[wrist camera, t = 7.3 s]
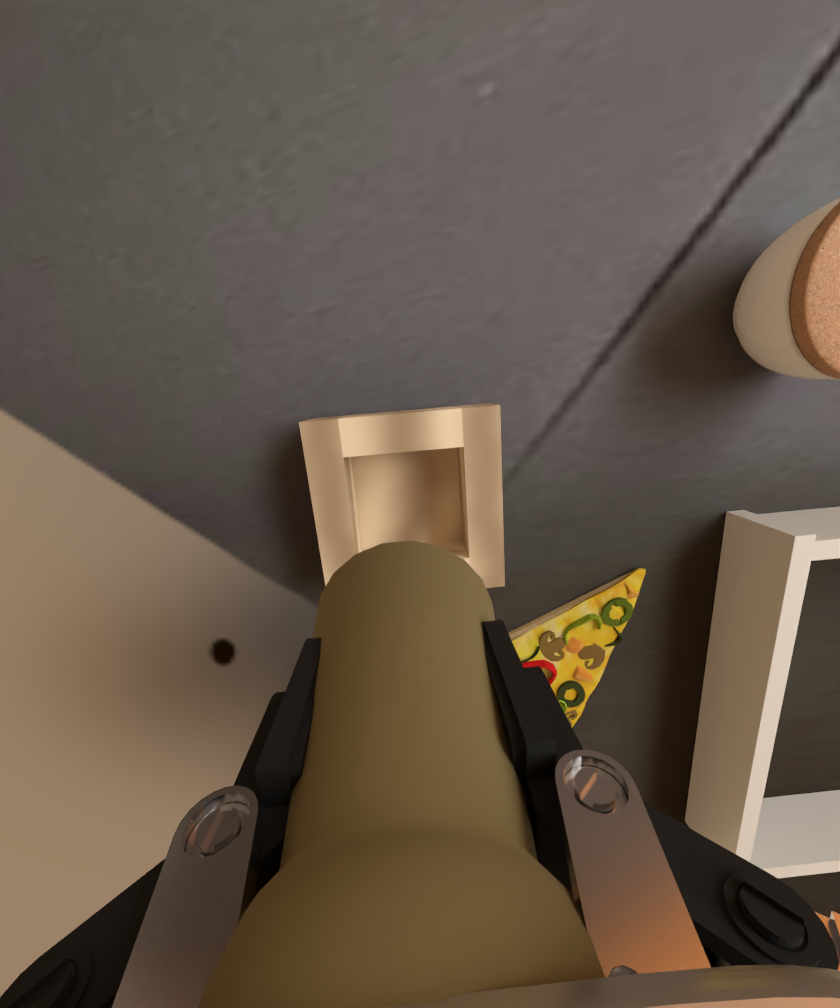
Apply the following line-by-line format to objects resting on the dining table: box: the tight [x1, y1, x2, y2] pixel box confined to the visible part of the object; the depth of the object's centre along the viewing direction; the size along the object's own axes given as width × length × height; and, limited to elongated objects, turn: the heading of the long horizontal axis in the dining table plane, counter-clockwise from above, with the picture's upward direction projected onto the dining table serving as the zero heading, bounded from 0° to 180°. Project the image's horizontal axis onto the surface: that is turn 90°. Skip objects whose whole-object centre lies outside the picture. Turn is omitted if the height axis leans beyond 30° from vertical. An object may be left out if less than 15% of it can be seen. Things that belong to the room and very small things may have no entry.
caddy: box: [299, 403, 505, 588], centre depth 29 cm, size 13×13×4 cm
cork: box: [198, 540, 605, 1008], centre depth 8 cm, size 6×6×11 cm
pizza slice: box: [508, 568, 646, 727], centre depth 35 cm, size 16×21×3 cm
